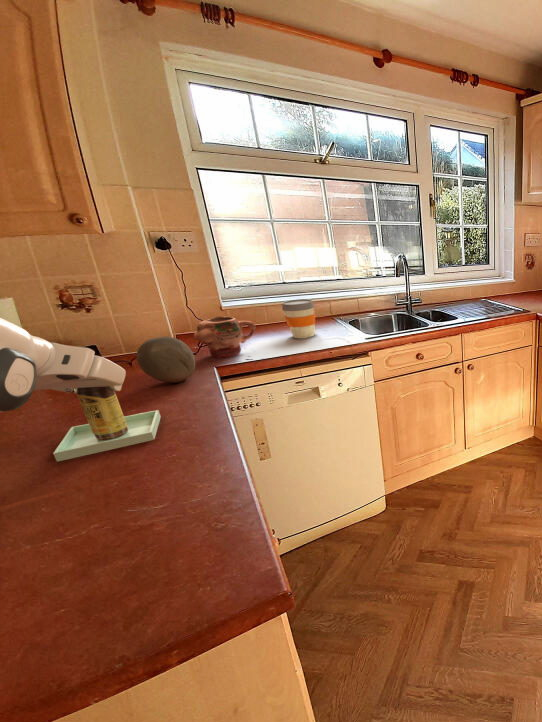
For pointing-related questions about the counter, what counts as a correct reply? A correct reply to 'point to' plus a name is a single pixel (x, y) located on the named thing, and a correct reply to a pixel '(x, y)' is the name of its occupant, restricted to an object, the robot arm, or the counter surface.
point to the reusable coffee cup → (300, 317)
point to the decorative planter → (223, 335)
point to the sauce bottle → (102, 412)
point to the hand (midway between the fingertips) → (96, 389)
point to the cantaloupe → (166, 359)
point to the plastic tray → (86, 443)
